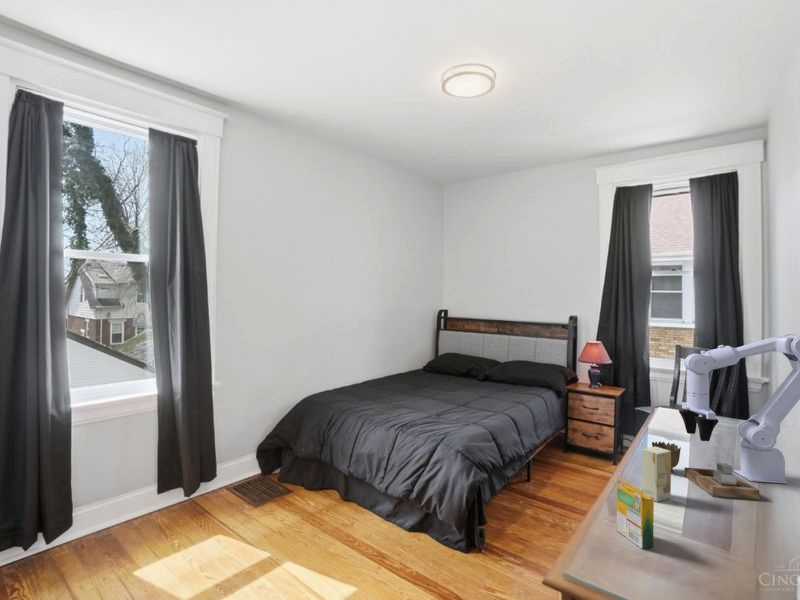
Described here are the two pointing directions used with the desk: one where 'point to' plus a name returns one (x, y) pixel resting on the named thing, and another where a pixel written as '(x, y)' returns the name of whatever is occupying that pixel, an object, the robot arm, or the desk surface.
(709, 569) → the desk surface
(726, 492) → the socket board
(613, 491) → the desk surface
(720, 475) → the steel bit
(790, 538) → the desk surface
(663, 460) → the skincare box
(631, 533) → the crayon box
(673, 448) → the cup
